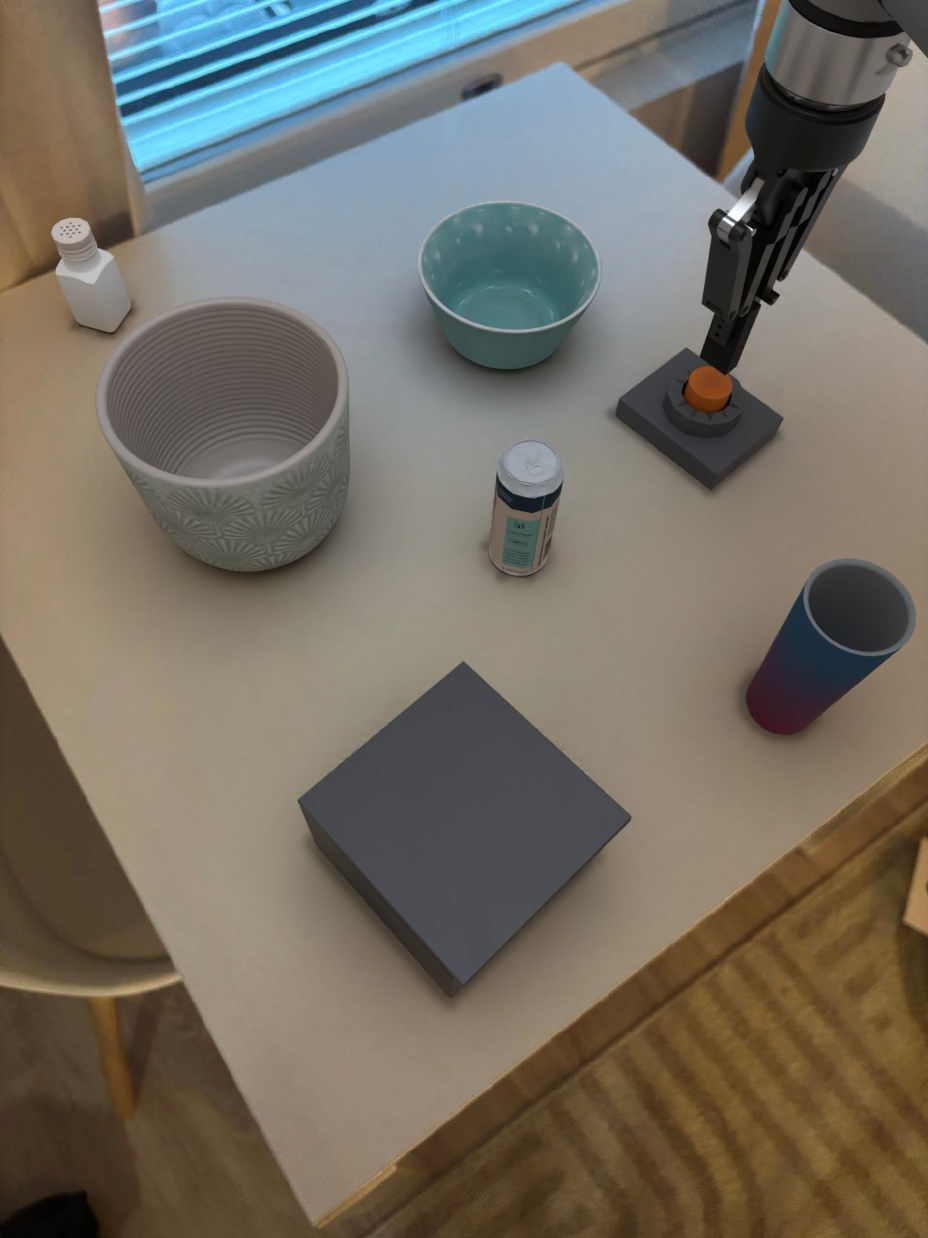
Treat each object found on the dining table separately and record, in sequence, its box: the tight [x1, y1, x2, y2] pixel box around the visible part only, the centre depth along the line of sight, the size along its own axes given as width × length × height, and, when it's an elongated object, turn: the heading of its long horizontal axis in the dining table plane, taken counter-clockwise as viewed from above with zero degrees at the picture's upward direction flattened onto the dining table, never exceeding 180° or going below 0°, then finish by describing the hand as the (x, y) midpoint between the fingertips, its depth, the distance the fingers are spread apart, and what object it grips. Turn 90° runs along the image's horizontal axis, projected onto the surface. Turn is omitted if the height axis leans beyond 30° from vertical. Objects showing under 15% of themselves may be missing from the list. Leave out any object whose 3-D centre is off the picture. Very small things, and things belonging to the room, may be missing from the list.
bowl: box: [417, 200, 603, 370], centre depth 84 cm, size 16×16×8 cm
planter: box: [94, 296, 351, 572], centre depth 70 cm, size 17×17×15 cm
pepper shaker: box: [50, 217, 132, 333], centre depth 83 cm, size 4×4×10 cm
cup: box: [745, 557, 917, 736], centre depth 64 cm, size 7×7×15 cm
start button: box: [684, 366, 732, 413], centre depth 79 cm, size 4×4×2 cm
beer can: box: [488, 437, 566, 577], centre depth 71 cm, size 5×5×12 cm
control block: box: [614, 346, 784, 491], centre depth 81 cm, size 11×9×4 cm
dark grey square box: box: [299, 805, 462, 999], centre depth 61 cm, size 14×14×9 cm
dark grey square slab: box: [297, 660, 633, 989], centre depth 56 cm, size 14×14×1 cm
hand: (718, 361), depth 76 cm, fingers closed
